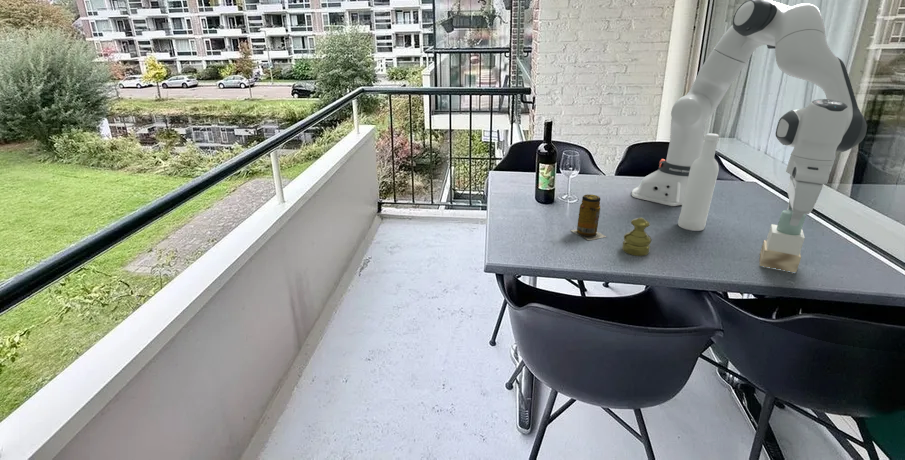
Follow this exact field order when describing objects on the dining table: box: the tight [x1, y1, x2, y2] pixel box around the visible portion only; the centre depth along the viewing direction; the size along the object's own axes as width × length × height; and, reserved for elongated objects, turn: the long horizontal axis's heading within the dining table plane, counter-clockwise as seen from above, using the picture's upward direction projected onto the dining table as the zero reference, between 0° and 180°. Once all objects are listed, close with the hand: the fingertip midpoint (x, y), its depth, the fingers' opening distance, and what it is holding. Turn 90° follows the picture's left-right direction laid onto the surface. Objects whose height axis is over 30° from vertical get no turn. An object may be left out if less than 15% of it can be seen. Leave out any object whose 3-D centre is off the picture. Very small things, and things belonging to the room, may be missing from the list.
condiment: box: [570, 194, 607, 241], centre depth 140 cm, size 7×8×12 cm
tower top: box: [766, 223, 806, 256], centre depth 122 cm, size 7×7×5 cm
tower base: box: [759, 239, 802, 273], centre depth 124 cm, size 8×8×5 cm
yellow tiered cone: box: [621, 217, 653, 257], centre depth 129 cm, size 7×7×10 cm
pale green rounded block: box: [777, 209, 807, 235], centre depth 120 cm, size 5×5×5 cm
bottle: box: [677, 132, 720, 232], centre depth 143 cm, size 8×8×30 cm
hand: (791, 219), depth 119 cm, fingers open, 8 cm apart
